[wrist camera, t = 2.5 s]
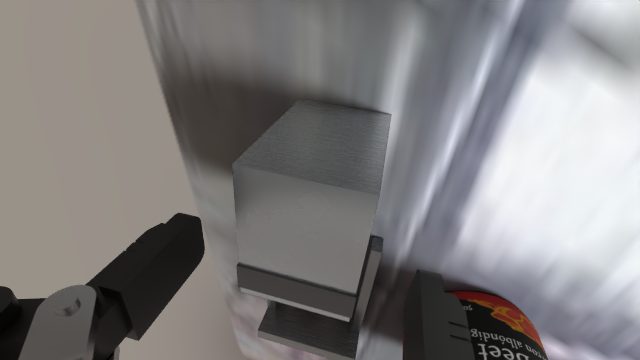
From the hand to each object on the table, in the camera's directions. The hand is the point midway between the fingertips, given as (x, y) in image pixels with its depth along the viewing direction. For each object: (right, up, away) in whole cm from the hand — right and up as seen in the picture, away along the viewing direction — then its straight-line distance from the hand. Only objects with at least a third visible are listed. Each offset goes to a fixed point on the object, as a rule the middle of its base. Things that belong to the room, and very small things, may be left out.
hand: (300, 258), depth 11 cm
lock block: (+2, +4, +5) cm, 7 cm away
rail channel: (+1, -3, +10) cm, 10 cm away
